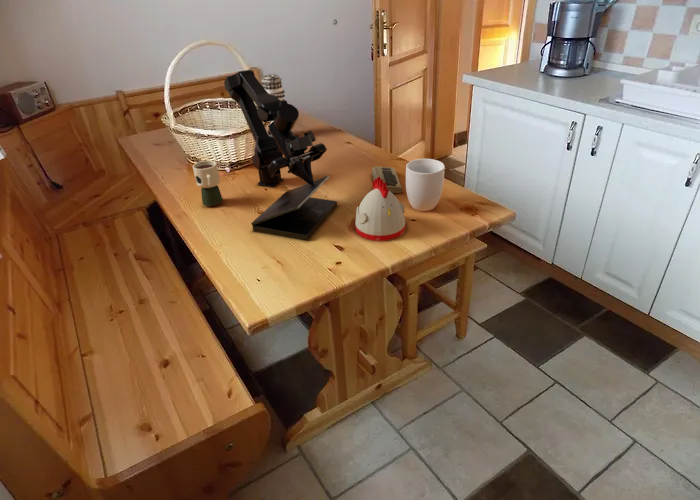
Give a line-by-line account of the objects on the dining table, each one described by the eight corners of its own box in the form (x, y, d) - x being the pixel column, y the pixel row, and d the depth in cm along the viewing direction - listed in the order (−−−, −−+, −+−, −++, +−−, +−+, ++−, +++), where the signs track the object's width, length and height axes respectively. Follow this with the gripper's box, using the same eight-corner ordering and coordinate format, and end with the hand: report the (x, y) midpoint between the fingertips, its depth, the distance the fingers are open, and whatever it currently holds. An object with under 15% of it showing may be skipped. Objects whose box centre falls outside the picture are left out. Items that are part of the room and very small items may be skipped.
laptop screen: (330, 177, 139) (328, 175, 139) (298, 209, 123) (296, 206, 123) (287, 194, 148) (285, 191, 148) (252, 225, 132) (250, 223, 132)
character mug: (198, 199, 152) (189, 161, 145) (220, 194, 154) (212, 156, 147) (205, 213, 144) (195, 173, 136) (228, 207, 146) (220, 168, 139)
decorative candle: (280, 142, 193) (272, 79, 180) (263, 139, 197) (254, 77, 184) (294, 136, 199) (287, 74, 186) (277, 132, 204) (269, 72, 190)
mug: (402, 193, 150) (403, 154, 143) (437, 192, 149) (439, 152, 142) (406, 215, 137) (407, 174, 130) (444, 214, 137) (448, 172, 130)
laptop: (337, 206, 144) (336, 200, 143) (307, 241, 128) (307, 234, 127) (287, 199, 149) (287, 193, 148) (253, 231, 133) (252, 225, 132)
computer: (402, 193, 149) (402, 183, 148) (376, 195, 149) (376, 185, 147) (395, 173, 163) (395, 164, 161) (371, 175, 162) (371, 166, 161)
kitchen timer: (368, 245, 124) (367, 194, 116) (347, 222, 135) (345, 174, 127) (414, 233, 129) (416, 182, 121) (390, 212, 140) (391, 164, 131)
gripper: (267, 132, 127) (297, 181, 126) (320, 116, 138) (348, 161, 137) (255, 153, 136) (283, 199, 135) (305, 136, 147) (331, 178, 146)
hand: (312, 184), depth 138 cm, fingers closed
